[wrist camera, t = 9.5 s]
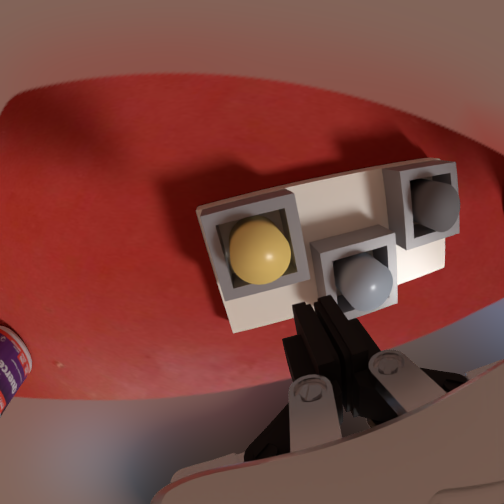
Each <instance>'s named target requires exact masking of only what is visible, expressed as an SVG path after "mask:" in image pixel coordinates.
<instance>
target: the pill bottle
mask: <svg viewBox="0 0 504 504" xmlns="http://www.w3.org/2000/svg"><path fill="white" fill-rule="evenodd" d="M31 368H32V360H31V356H30V353H29V351H28V349H27V347H26V345H25V344H24V342H23V341H22V340H21V339H20V338H19V336H18V335H17V334H15V333H14V332H13V331H12V330H10V329H9V328H7V327H4V326H0V417H1V415H2V413H3V412H4V410H5V409H6V407H7V405H8V404H9V402H10V401H11V399H12V398H13V396H14V395H15V393H16V392H17V390H18V389H19V387H20V386H21V384H22V383H23V381H24V380H25V378H26V377H27V376H28V374H29V373H30V371H31Z"/></svg>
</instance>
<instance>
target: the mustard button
mask: <svg viewBox="0 0 504 504" xmlns="http://www.w3.org/2000/svg"><path fill="white" fill-rule="evenodd" d="M229 251H230V261H231V265H232V268H233V270H234V272H235V273H236V274H237V275H238V276H239V277H240V278H241V279H242V280H244V281H246V282H248V283H251V284H257V285H261V284H268V283H271V282H273V281H275V280H277V279H278V278H279V277H281V276H282V275H283V274H284V272H285V271H286V270H287V268H288V266H289V263H290V259H291V250H290V246H289V243H288V241H287V240H286V238H285V237H284V235H283V234H282V233H281V232H280V230H279V229H278V228H277V226H276V225H275V224H274V223H273V222H272V221H271V220H270V219H268V218H266V217H264V216H260V215H254V216H250V217H246V218H242V219H240V220H239V221H238V222H237V223H236V224H235V225H234V226H233V228H232V229H231V232H230V235H229Z"/></svg>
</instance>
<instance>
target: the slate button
mask: <svg viewBox="0 0 504 504" xmlns="http://www.w3.org/2000/svg"><path fill="white" fill-rule="evenodd" d="M333 270H334V278H335V286H336V287H337V288H338V290H339V291H340V292H341V293H342V294H343V296H344V297H345V298H346V299H347V301H348V302H349V303H350V304H351V305H352V307H353V308H355V309H356V310H359V311H371V310H374V309H376V308H378V307H379V306H381V305H382V304H383V303H384V302H385V301H386V300H387V298H388V297H389V295H390V293H391V290H392V287H393V277H392V274H391V272H390V270H389V269H388V268H387V267H386V266H384V265H383V264H382V263H380V262H379V261H378V260H376V259H375V258H374V257H372V256H371V255H370V254H368V253H367V252H363V253H359V254H356V255H352V256H349V257H345V258H342V259H338V260H335V261H334V263H333Z"/></svg>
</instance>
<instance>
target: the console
mask: <svg viewBox="0 0 504 504" xmlns="http://www.w3.org/2000/svg"><path fill="white" fill-rule="evenodd" d="M420 178H422V179H427V180H432V181H437V182H442V183H447V184H450V185H452V186H453V187H454V188H455V189H456V191H457V193H458V181H457V170H456V162H452V161H443V160H440V159H438V158H422V159H415V160H409V161H403V162H396V163H391V164H385V165H379V166H373V167H368V168H362V169H357V170H352V171H347V172H342V173H336V174H332V175H327V176H322V177H317V178H312V179H308V180H303V181H299V182H294V183H290V184H285V185H281V186H276V187H272V188H268V189H264V190H260V191H255V192H251V193H247V194H243V195H239V196H235V197H231V198H228V199H224V200H220V201H216V202H212V203H209V204H205V205H201V206H198V207H197V209H196V213H197V217H198V220H199V224H200V227H201V231H202V234H203V238H204V241H205V244H206V248H207V251H208V255H209V258H210V261H211V264H212V268H213V271H214V274H215V278H216V281H217V284H218V287H219V290H220V294H221V297H222V300H223V303H224V306H225V309H226V312H227V315H228V319H229V322H230V325H231V328H232V331H233V333H236V332H240V331H244V330H248V329H253V328H257V327H260V326H264V325H268V324H272V323H276V322H280V321H283V320H287V319H291V318H294V315H293V310H292V305H293V304H297V303H301V302H305V303H306V305H307V304H311V306H312V307H313V309H314V302H318V301H317V299H318V298H319V297H323V296H327V295H331V296H332V297H333V299H334V300H335V302H336V303H337V304H338V306H339V307H340V309H341V310H342V312H343V313H344V315H345V316H346V317H347V319H348V320H350V319H353V318H356V317H359V316H362V315H365V314H368V313H371V312H374V311H377V310H379V309H382V308H385V307H388V306H390V305H393V304H396V303H397V285H399V284H401V283H404V282H407V281H410V280H412V279H415V278H418V277H420V276H423V275H426V274H428V273H431V272H434V271H436V270H439V269H441V268H444V265H445V238H446V237H449V236H452V235H455V234H458V233H459V215H458V218H457V220H456V222H455V224H454V225H453V226H452V227H451V228H450V229H449V230H448V231H445V232H437V231H435V230H433V229H430V228H428V227H426V226H423V225H421V224H419V223H416V222H414V221H413V213H412V201H411V190H410V181H411V180H415V179H420ZM254 215H260V216H264V217H266V218H268V219H270V220H271V221H272V222H273V223H274V224H275V225H276V226H277V228H278V229H279V230H280V232H281V233H282V234H283V235H284V237H285V238H286V240H287V241H288V243H289V246H290V250H291V259H290V263H289V266H288V268H287V270H286V271H285V272H284V274H283V275H282V276H281V277H279V278H278V279H277V280H275V281H273V282H271V283H268V284H261V285H257V284H251V283H248V282H246V281H244V280H242V279H241V278H240V277H239V276H238V275H237V274H236V273H235V272H234V270H233V268H232V265H231V261H230V251H229V235H230V232H231V229H232V228H233V226H234V225H235V224H236V223H237V222H238V221H239V220H240V219H242V218H246V217H250V216H254ZM363 252H367V253H368V254H370V255H371V256H372V257H374V258H375V259H376V260H378V261H379V262H380V263H382V264H383V265H384V266H386V267H387V268H388V269H389V270H390V272H391V274H392V277H393V287H392V290H391V293H390V295H389V297H388V298H387V300H386V301H385V302H384V303H383V304H382V305H381V306H379V307H378V308H376V309H374V310H371V311H359V310H356V309H355V308H353V307H352V305H351V304H350V303H349V302H348V301H347V299H346V298H345V297H344V296H343V294H342V293H341V292H340V291H339V290H338V288H337V287H336V286H335V278H334V270H333V263H334V261H335V260H338V259H342V258H345V257H349V256H352V255H356V254H359V253H363ZM314 311H315V310H314Z"/></svg>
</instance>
